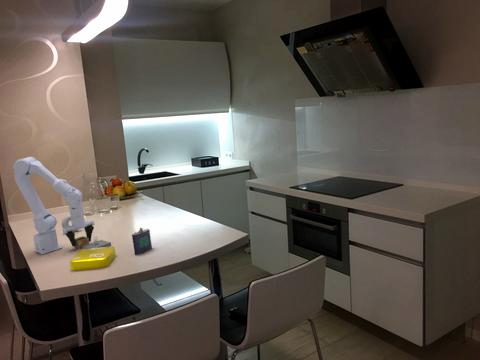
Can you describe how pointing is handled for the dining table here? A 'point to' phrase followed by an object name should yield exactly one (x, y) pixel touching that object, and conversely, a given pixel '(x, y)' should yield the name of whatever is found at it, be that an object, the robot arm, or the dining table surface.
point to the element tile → (93, 258)
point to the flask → (141, 241)
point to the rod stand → (97, 244)
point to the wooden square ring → (81, 242)
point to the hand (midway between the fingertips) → (81, 243)
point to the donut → (66, 222)
